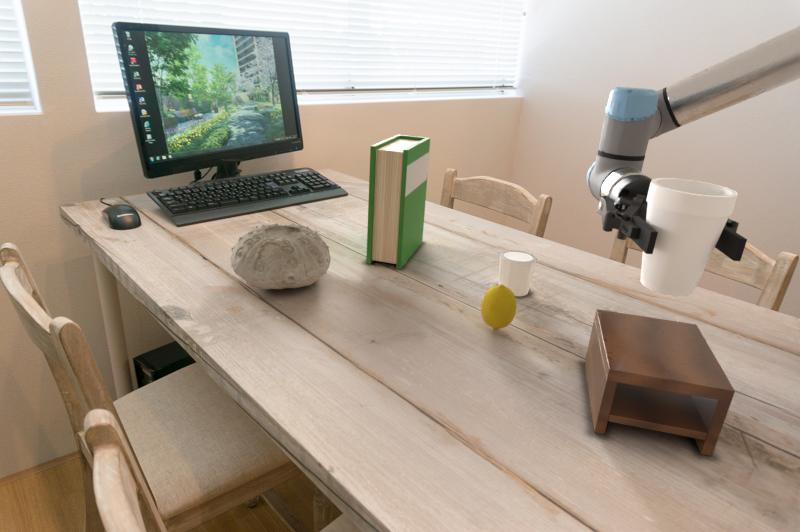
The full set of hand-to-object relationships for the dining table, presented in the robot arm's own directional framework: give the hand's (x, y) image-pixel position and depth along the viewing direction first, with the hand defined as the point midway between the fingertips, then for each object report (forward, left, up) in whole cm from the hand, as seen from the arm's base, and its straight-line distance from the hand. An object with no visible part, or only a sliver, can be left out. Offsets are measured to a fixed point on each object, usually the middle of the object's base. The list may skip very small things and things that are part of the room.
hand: (695, 246), depth 61 cm
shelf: (+1, +1, -22) cm, 22 cm away
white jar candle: (+19, -30, -22) cm, 42 cm away
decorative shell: (+61, -18, -22) cm, 68 cm away
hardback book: (+45, -41, -22) cm, 65 cm away
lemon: (+21, -13, -22) cm, 34 cm away
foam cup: (+1, -4, -7) cm, 8 cm away
